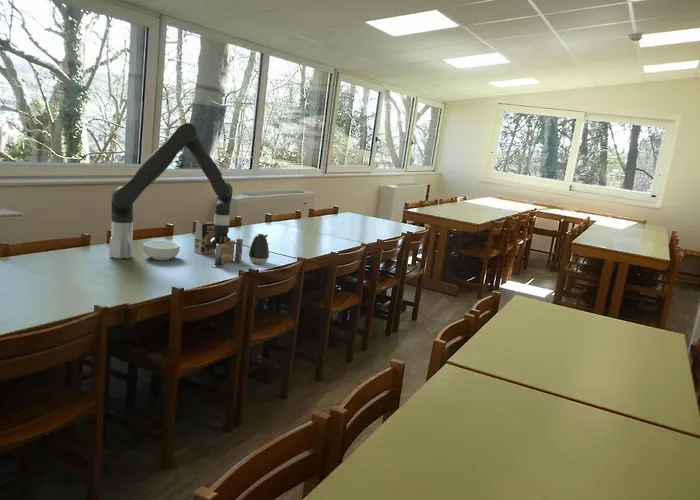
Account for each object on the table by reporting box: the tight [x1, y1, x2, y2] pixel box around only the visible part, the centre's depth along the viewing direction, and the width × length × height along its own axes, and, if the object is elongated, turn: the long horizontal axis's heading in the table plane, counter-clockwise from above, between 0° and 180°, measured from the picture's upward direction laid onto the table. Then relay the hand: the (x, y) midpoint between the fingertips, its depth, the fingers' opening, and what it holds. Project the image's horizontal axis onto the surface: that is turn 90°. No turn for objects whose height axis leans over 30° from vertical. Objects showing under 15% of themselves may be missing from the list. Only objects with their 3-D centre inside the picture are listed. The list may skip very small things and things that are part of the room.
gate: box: [221, 239, 236, 265], centre depth 268 cm, size 2×14×10 cm, turn 168°
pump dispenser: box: [248, 233, 270, 265], centre depth 275 cm, size 10×10×15 cm
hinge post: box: [212, 244, 224, 269], centre depth 259 cm, size 5×5×11 cm
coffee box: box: [193, 221, 216, 255], centre depth 282 cm, size 9×6×16 cm
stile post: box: [231, 237, 245, 265], centre depth 271 cm, size 4×4×12 cm
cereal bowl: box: [142, 240, 181, 261], centre depth 262 cm, size 17×17×7 cm
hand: (218, 257), depth 269 cm, fingers closed
